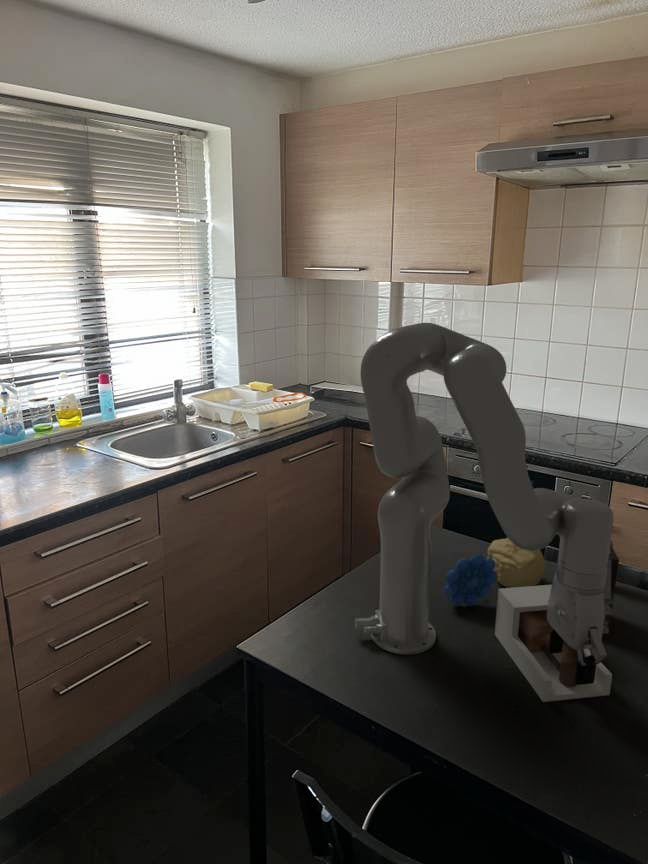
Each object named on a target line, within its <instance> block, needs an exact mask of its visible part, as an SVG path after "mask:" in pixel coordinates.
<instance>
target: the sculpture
mask: <svg viewBox="0 0 648 864" xmlns="http://www.w3.org/2000/svg"><path fill="white" fill-rule="evenodd" d="M488 558H490V559H493V560H494V561H495V568H494V569H493V571H496V572H497V575H498V578H497V581H496V582H498V583H499V584H501V586H503V587H505V588H514V587H527V586H538V584H539V583H540V581H542V578H543V577H544V574H545V571H546V569H545V568H546V561H545V556H544V555H543V553H542V551H541V549H540V550H537V551H527V550H523V549H521V548H519V547H517V546H516V545H514V544H513V543H512V542H511V541H510V540H509V538H508V537H506V538H501V539H500V538H499V539H495V540H493V541H492V542H491V544H490V546H488V548H487V557H486V559H488Z"/></svg>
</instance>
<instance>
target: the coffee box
mask: <svg viewBox="0 0 648 864" xmlns="http://www.w3.org/2000/svg"><path fill="white" fill-rule="evenodd" d="M619 562H620V558H619V557H618V555H617V553H616V551H615V550H614V547H613V548H612V546H611V545H610V550H609V558H608V566H607V574H606V582H605V588H604V590H603V592H604V624H603V634H605V635H608V634H609V632H610V626H611V619H612V613H613V604H614V598H615V597H614V596H615V589H616V584H617V583H616V582H617V576H618V568H619Z"/></svg>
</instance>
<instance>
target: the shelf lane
mask: <svg viewBox="0 0 648 864" xmlns="http://www.w3.org/2000/svg"><path fill="white" fill-rule="evenodd" d="M551 586H552V584H544V585H542V584H541V585H535V586H527V587H514V588H507V587H505V588H503V587H502V588H498V589H497V590H498V591H497V602H496V603H497V604H496V613H495V615H496V616H495V625H494V626H495V629H494V636H496V639H497V640H498V642H499V643H500V644H501V646H502V647H503V648H504V649H505V651H506V652H507V654H508V655H509V656H510V658H511V659H512V660H513V662H514V664H515V665H516V666H517V668H518V669H519V671H520V672H521V673H522V675H523V676H524V677H525V679H526V681H528V683H529V684H530V686H531V687H532V688H533V690H534V692H535V693H536V694H537V696H539V697H538V698H540V699H541V702H543V703H545V702H547V703H548V702H555V701H566V700H574V699H584V698H594V697H603V696H610V694H611V688H612V687H611V686H612V679H613V674H612V673H611V671H610V670H609V669H608V668H607V667H606V666H605V665H604V664H603V663H602V662H601V663H599V664H598V665H596V671H595V678H594V683H592V684H583V685H576V686H573V687H569V686H565V685H563V684H562V683H561V682H560V681H559V674H560V671H559V670H558V669H557V668H556V667H555V665H554V664H553V663H552V662H551V660H550V659H549V658H548V657H547V655H546V654H545V653H544V652H543V650H542V651H531V652H530V651H529V650H528V649H527V648H526V646H525V645H524V644H523V642H522V641H521V640H520V638H519V637H518V628H519V618H520V612H528V611H540V610H547V609H548V600H549V596H550V591H551ZM584 653H585V657H587V656H589V655H591V653H590V648H587V649H584ZM552 654H553V655H554V656H555V658H556V659H557V660H558V661H559V663H560V664H561V657H562V653H552Z"/></svg>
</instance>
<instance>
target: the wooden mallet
mask: <svg viewBox="0 0 648 864" xmlns="http://www.w3.org/2000/svg"><path fill="white" fill-rule="evenodd" d="M549 625H550V624H549V622H548V620H547V610H540V611H528V612H520V618H519V628H518V637H519V638H520V640H521V641H522V642H523V644H524V645H525V646H526V648H527V649H528V650H529V651H530V652H531V651H542V650H543V652H544V653H545V654H546V655H547V657H548V658H549V659H550V660H551V662H552V663H553V664H554V665H555V667H556V668H557V669H558V670H559V671H560V674H559V681H560V682H561V683H562V684H563V685H565V686H569V687H573V686H576V683H575V682H574V680H575V672H576V663H577V662H579V657H578V651H577V649H573V648H571V647H570V646H569V645H568V644H567V643H566V642H565V641H564V640H563V648H562V657H561V664H560V663H559V661H558V660H557V659H556V658H555V656H554V655H553V654H552V653H550V652H549V641H550V632H553V631H551V630H550V628H549Z"/></svg>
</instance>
